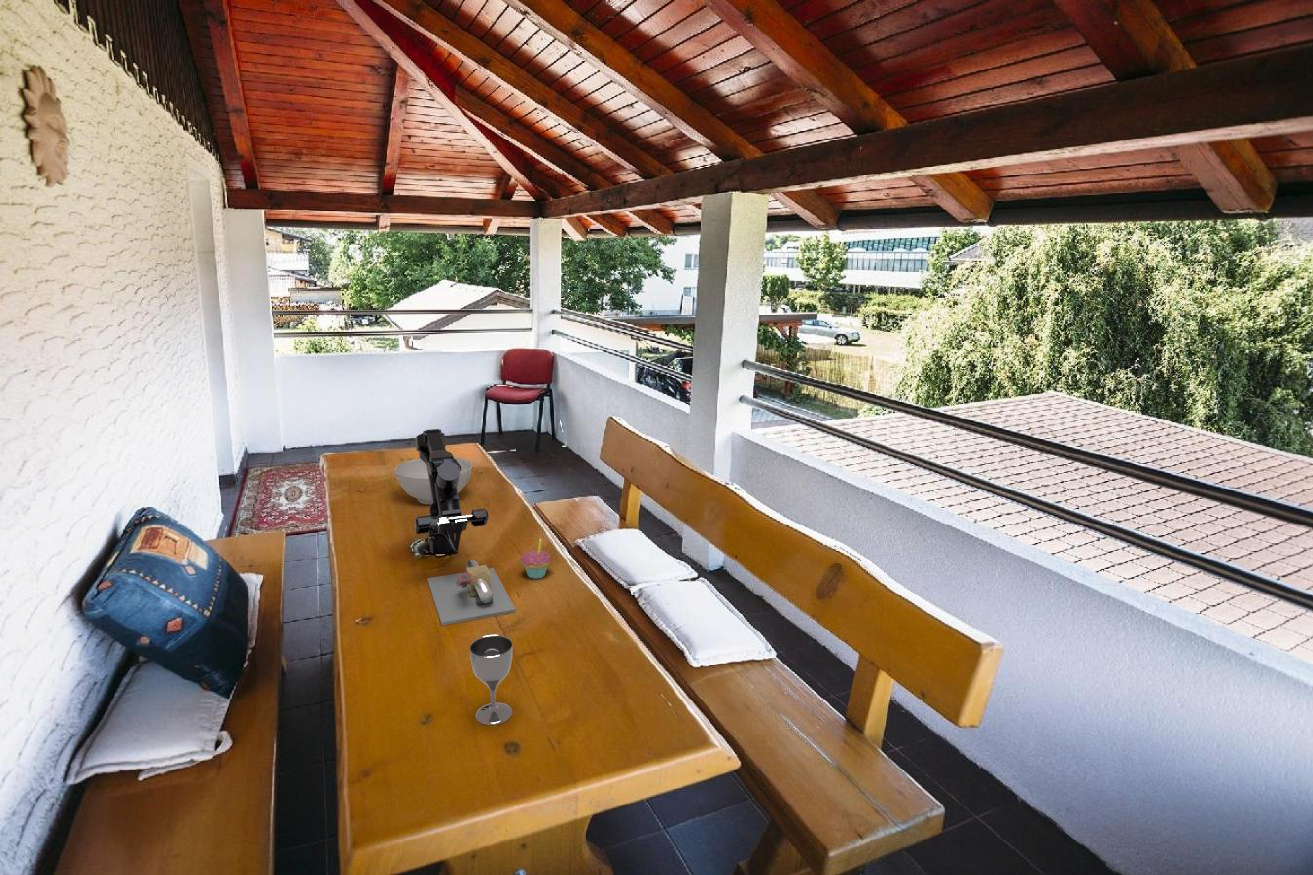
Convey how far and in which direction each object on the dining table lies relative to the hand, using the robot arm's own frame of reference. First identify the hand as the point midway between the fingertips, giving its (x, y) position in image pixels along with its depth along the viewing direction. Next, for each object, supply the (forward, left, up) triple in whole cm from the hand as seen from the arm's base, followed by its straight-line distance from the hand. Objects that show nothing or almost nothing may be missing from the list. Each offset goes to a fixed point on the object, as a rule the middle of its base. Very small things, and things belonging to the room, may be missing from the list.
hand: (456, 550), depth 190 cm
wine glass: (+17, +54, -11) cm, 58 cm away
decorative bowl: (-24, -71, -11) cm, 76 cm away
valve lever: (+1, +4, -8) cm, 9 cm away
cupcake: (-21, +5, -11) cm, 24 cm away
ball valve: (-3, +6, -11) cm, 13 cm away
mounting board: (-1, +5, -11) cm, 12 cm away
